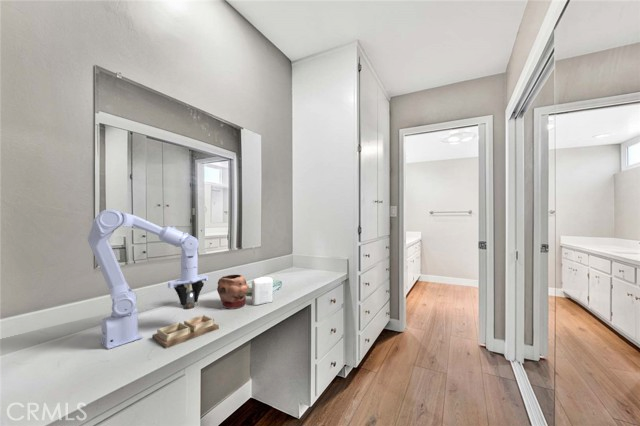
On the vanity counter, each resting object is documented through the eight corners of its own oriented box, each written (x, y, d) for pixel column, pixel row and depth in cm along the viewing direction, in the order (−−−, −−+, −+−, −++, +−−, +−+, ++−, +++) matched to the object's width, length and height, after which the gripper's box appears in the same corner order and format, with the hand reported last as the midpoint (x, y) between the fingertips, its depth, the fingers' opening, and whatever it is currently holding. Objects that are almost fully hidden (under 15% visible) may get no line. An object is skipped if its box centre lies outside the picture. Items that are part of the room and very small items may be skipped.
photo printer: (270, 300, 129) (270, 275, 130) (274, 302, 126) (274, 276, 126) (250, 303, 123) (250, 278, 124) (253, 306, 120) (253, 279, 120)
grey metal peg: (186, 310, 95) (186, 293, 95) (180, 308, 98) (180, 292, 98) (196, 307, 99) (196, 291, 99) (191, 305, 101) (191, 289, 101)
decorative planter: (205, 305, 121) (206, 276, 121) (226, 298, 131) (226, 271, 132) (237, 313, 111) (237, 280, 111) (256, 304, 122) (256, 275, 122)
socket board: (166, 348, 81) (166, 337, 81) (152, 338, 88) (152, 328, 88) (218, 328, 96) (218, 319, 96) (203, 321, 102) (203, 313, 102)
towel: (234, 295, 138) (234, 286, 138) (255, 285, 158) (255, 277, 158) (264, 298, 132) (264, 288, 132) (282, 288, 153) (282, 279, 153)
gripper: (174, 271, 90) (174, 311, 90) (212, 265, 102) (212, 300, 102) (165, 269, 94) (164, 306, 94) (203, 263, 106) (202, 296, 106)
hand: (189, 303), depth 98 cm, fingers closed on grey metal peg, 4 cm apart
